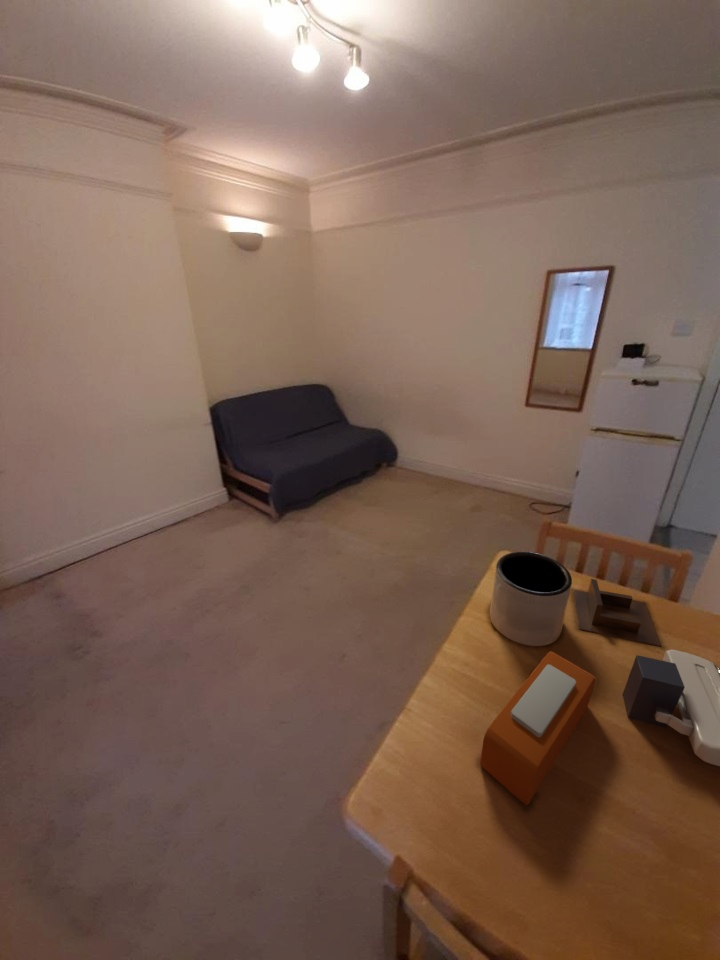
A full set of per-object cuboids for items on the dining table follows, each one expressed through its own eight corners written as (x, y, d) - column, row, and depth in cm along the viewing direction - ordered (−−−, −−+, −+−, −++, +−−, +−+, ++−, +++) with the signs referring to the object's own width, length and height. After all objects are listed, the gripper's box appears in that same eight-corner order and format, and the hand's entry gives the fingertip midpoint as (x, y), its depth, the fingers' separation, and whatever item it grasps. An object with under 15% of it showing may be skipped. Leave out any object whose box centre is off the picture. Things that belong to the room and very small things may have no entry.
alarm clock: (544, 682, 82) (553, 642, 78) (587, 710, 77) (599, 668, 72) (478, 770, 68) (484, 727, 63) (525, 811, 62) (535, 768, 58)
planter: (477, 626, 97) (483, 574, 90) (506, 591, 107) (513, 542, 100) (546, 662, 87) (558, 607, 80) (570, 619, 97) (582, 568, 90)
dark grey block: (657, 707, 77) (675, 663, 71) (664, 732, 72) (685, 687, 67) (620, 698, 79) (636, 654, 73) (626, 722, 74) (643, 677, 69)
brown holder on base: (643, 607, 100) (651, 583, 97) (659, 650, 88) (669, 625, 85) (572, 594, 105) (577, 570, 102) (578, 633, 93) (584, 608, 90)
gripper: (724, 652, 76) (639, 634, 80) (783, 761, 58) (669, 731, 63) (713, 675, 78) (631, 657, 83) (766, 786, 61) (658, 755, 66)
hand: (648, 689), depth 73 cm, fingers open, 8 cm apart
